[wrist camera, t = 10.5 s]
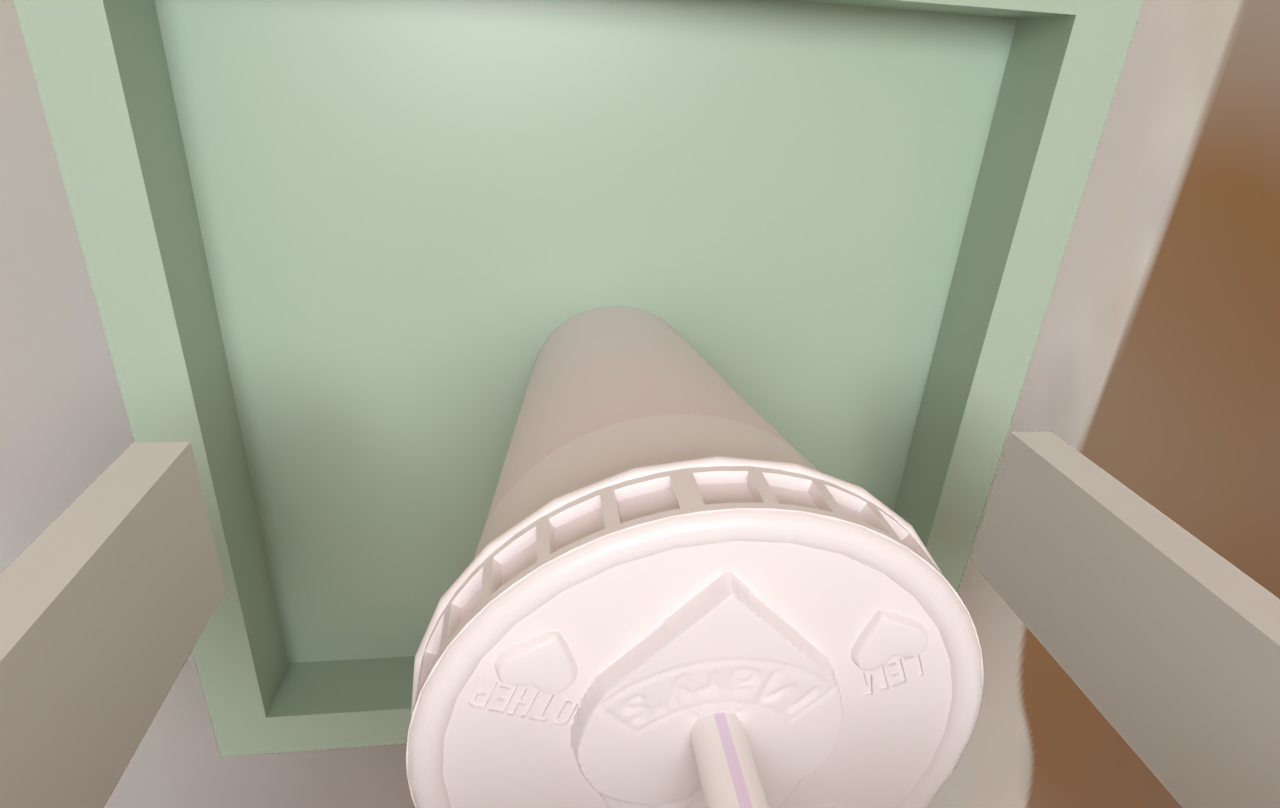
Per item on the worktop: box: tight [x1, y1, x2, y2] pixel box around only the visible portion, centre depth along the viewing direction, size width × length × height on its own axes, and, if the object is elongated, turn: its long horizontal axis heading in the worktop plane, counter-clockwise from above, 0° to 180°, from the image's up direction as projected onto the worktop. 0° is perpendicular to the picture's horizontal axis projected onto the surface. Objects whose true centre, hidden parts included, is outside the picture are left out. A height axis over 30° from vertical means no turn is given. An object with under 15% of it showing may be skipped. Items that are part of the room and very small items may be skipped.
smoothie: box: [406, 306, 983, 808], centre depth 10 cm, size 6×6×14 cm
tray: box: [13, 0, 1144, 757], centre depth 16 cm, size 18×18×2 cm
